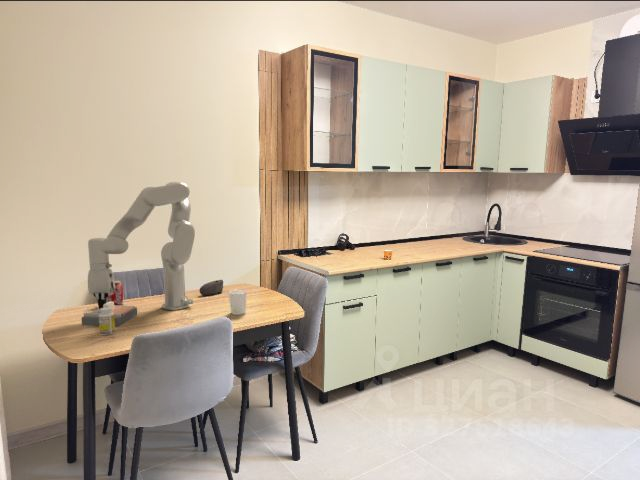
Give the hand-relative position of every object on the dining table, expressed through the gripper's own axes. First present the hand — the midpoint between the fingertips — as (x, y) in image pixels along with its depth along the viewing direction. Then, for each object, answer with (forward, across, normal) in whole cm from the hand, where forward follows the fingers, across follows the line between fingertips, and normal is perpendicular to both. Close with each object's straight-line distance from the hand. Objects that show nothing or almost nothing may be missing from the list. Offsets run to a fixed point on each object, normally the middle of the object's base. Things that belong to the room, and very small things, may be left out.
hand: (102, 307), depth 189 cm
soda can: (+6, +7, -22) cm, 24 cm away
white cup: (+6, -56, -15) cm, 59 cm away
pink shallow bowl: (+2, -7, 0) cm, 7 cm away
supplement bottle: (+6, -12, +16) cm, 21 cm away
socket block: (+6, -3, 0) cm, 6 cm away
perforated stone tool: (+6, -33, -47) cm, 58 cm away
